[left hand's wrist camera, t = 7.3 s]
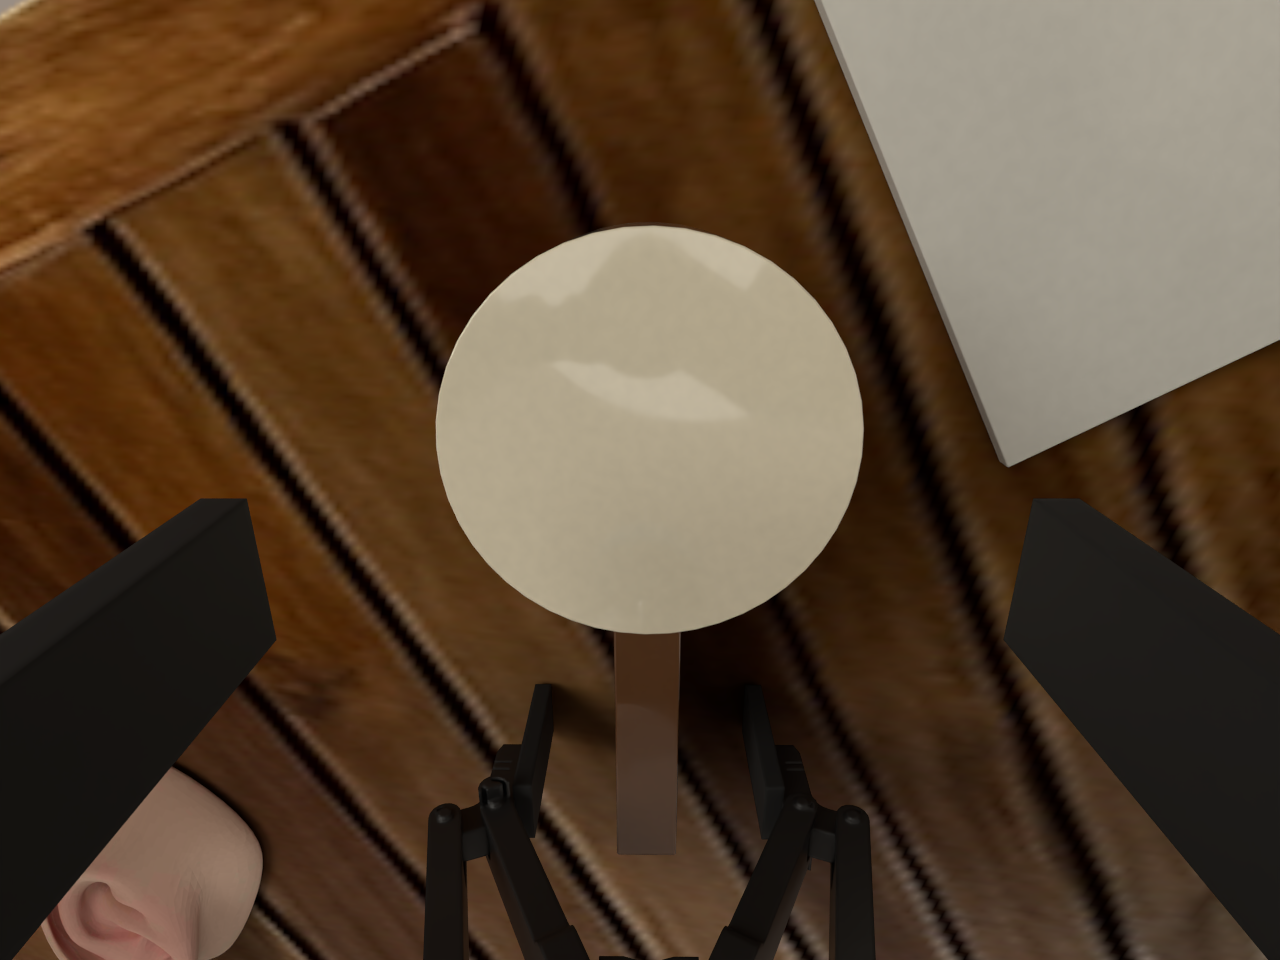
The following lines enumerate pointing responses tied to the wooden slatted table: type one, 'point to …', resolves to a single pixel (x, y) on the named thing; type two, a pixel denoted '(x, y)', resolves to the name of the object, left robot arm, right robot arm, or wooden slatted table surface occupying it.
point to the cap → (649, 429)
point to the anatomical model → (163, 882)
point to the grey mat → (1079, 190)
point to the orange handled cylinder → (647, 741)
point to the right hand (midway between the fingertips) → (648, 707)
